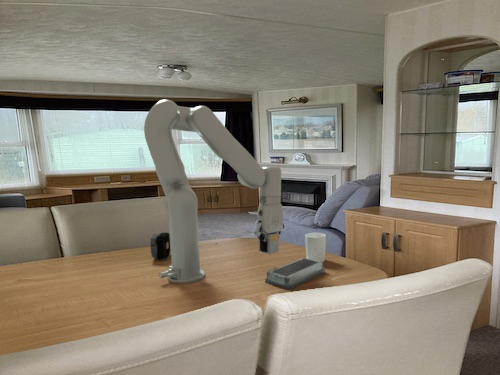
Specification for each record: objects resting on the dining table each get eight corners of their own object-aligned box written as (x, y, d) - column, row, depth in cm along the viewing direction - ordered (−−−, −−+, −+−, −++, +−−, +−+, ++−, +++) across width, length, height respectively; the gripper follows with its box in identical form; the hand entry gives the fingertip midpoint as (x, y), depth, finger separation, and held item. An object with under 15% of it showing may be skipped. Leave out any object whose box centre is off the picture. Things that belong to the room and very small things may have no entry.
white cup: (325, 257, 142) (324, 232, 141) (327, 263, 134) (327, 237, 133) (304, 257, 143) (304, 232, 142) (305, 263, 135) (305, 237, 134)
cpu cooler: (158, 254, 154) (156, 230, 153) (171, 253, 154) (170, 230, 153) (150, 261, 144) (149, 236, 143) (164, 261, 143) (163, 236, 142)
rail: (289, 289, 111) (289, 278, 111) (265, 281, 118) (264, 271, 118) (325, 272, 125) (325, 262, 125) (301, 266, 132) (301, 257, 132)
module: (269, 254, 128) (270, 235, 128) (259, 251, 132) (259, 232, 131) (278, 251, 132) (279, 232, 131) (268, 249, 135) (268, 230, 135)
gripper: (261, 203, 121) (260, 256, 123) (292, 199, 134) (291, 248, 135) (246, 201, 127) (245, 252, 128) (277, 197, 139) (276, 244, 141)
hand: (268, 249), depth 132 cm, fingers closed on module, 5 cm apart
